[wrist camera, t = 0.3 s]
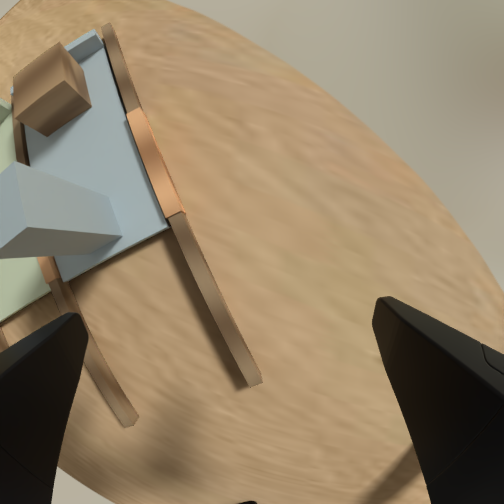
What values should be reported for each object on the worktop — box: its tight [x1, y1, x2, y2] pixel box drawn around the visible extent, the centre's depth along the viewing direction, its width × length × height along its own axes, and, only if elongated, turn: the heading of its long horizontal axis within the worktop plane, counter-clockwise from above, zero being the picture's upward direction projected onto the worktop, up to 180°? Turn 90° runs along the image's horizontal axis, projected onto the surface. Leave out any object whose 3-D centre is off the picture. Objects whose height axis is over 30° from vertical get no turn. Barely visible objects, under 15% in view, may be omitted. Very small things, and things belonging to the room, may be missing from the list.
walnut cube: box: [13, 42, 92, 137], centre depth 17 cm, size 5×5×5 cm
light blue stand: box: [0, 29, 170, 282], centre depth 14 cm, size 20×10×12 cm, turn 25°
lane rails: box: [0, 23, 263, 428], centre depth 20 cm, size 35×24×2 cm
